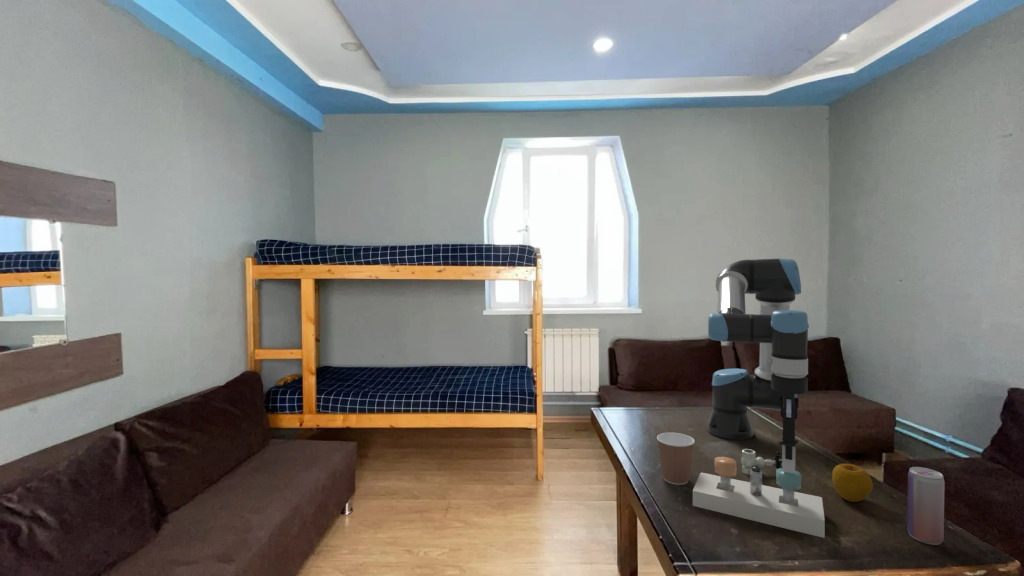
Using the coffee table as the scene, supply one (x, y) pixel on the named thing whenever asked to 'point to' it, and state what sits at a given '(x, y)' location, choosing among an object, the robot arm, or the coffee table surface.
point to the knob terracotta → (725, 470)
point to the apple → (851, 482)
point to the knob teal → (788, 483)
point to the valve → (758, 461)
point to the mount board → (761, 505)
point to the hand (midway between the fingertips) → (788, 470)
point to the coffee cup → (675, 457)
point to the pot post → (756, 481)
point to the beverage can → (925, 505)
